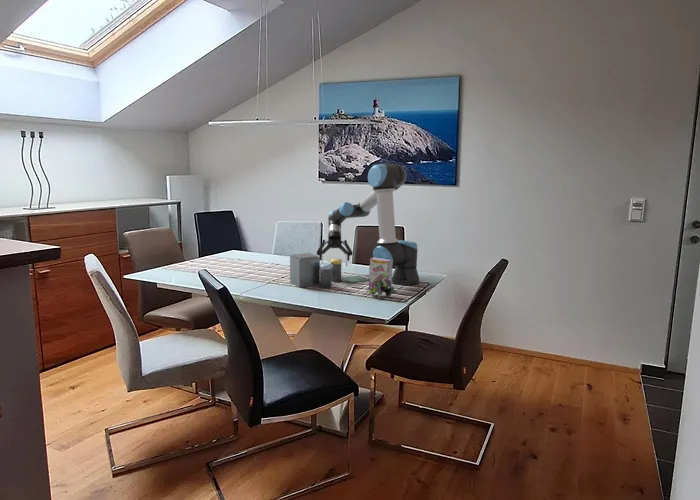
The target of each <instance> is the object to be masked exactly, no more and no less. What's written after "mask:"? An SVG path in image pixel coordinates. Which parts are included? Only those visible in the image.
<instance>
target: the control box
mask: <svg viewBox="0 0 700 500" xmlns="http://www.w3.org/2000/svg"><path fill="white" fill-rule="evenodd" d="M320 264H321V260H320V256H318V255H316V254H312V253H310V252H308V253H307V252H306V253H295V254H292V255H291V254H290V255H289V283H290V284H292V285H294V286H296V287H297V288H306V287H313V286H320Z"/></svg>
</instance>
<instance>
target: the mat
mask: <svg viewBox="0 0 700 500" xmlns="http://www.w3.org/2000/svg"><path fill="white" fill-rule="evenodd" d="M341 280H343V281H345V282H347V283H349V284H353V283H362V282H369V278H366V277H364V276H362V275H360V274H359V275H357V274H356V275H349V276H341Z"/></svg>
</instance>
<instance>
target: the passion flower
mask: <svg viewBox="0 0 700 500" xmlns="http://www.w3.org/2000/svg"><path fill="white" fill-rule="evenodd" d="M384 280H385V281H384ZM384 280H382V279H380V280H379V281H376V280H374V282H375V286H374V288H370V287H369V286H368V288H367V291H368V294H370V295H371V296H375V295H376V293H377V298H376V300H377V299H379V297H380V296H381V295H382V294H383V293H385V296H387V297H389V296H392V293H394V294H395V293H397V291H396V290H395V289H394V286H393V285H392V284H393V283H392V284H390V283H391V282H390V281H389V280H388V279H384ZM391 285H392V286H391ZM376 287H377V288H376ZM380 288H381V291H380V290H379V289H380Z"/></svg>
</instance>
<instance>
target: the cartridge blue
mask: <svg viewBox="0 0 700 500" xmlns="http://www.w3.org/2000/svg"><path fill="white" fill-rule="evenodd" d="M331 277H332V264H331V263H324V262H323V264H322V263H320V285H319V287H320V288H321V289H330V288H332V282H331Z"/></svg>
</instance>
